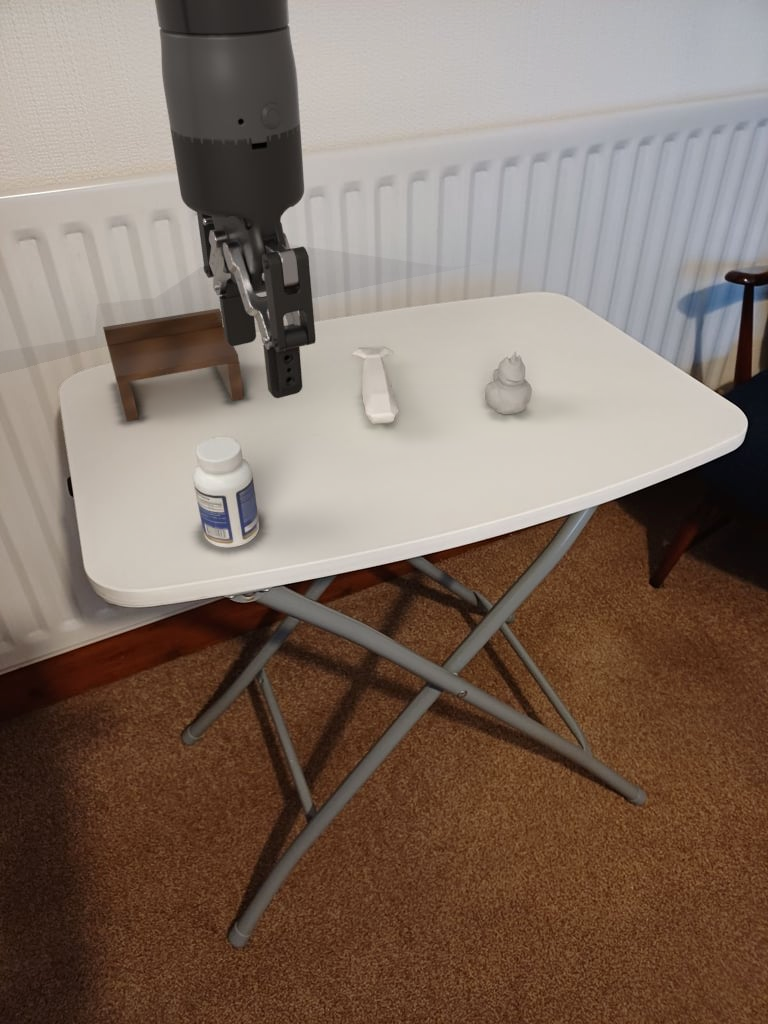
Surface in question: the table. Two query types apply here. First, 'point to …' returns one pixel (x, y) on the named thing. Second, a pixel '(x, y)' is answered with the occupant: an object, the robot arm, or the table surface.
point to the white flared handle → (376, 385)
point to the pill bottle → (225, 493)
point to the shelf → (171, 351)
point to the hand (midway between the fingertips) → (262, 366)
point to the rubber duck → (509, 387)
